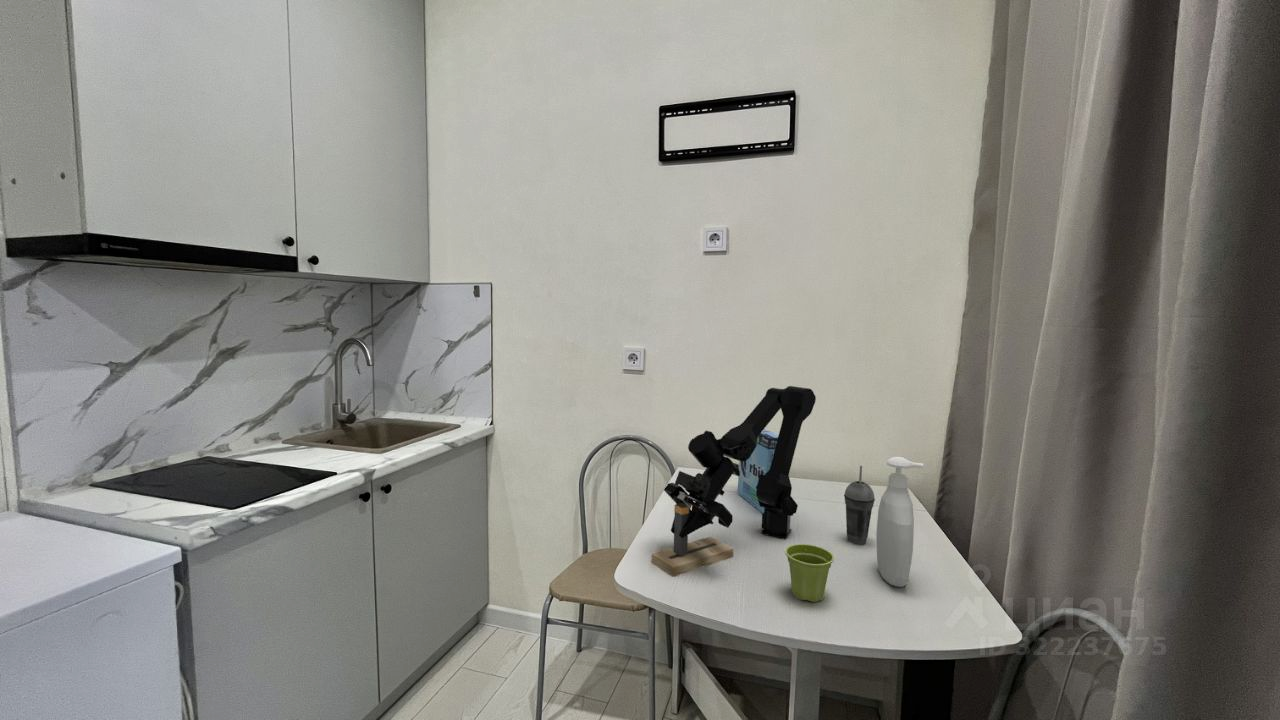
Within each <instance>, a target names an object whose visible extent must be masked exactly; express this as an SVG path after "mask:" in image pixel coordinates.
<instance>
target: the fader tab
mask: <svg viewBox="0 0 1280 720" xmlns="http://www.w3.org/2000/svg"><path fill="white" fill-rule="evenodd" d="M673 510H674V511H673V512H674V517H673V521H674V534H673V547H674V549H673V552H675V553H676V554H678V555H680V556H682V555H685V554H687V545H688V543H689V542H688V541H689V540H688V539H689V538H688V537H689V535H687V536H685V537H683V538H681V537H680V536H679V533H680V531H681V530H682V528H683V526H684V525H685V523H686V521H687V520H688V515H689V506H687V505H685V504H683V503H680V504H676V503H675V504H674V509H673Z"/></svg>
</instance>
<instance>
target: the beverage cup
mask: <svg viewBox="0 0 1280 720" xmlns="http://www.w3.org/2000/svg"><path fill="white" fill-rule="evenodd" d="M862 473H863V465H859V475H858V477H859V479H858V480H855V481H853V482H850V483H849V484H848V486H846V489H845V491H844V494H843V497H844V504H845V518H846V519H845V523H846V524H845V525H846V539H847V542H848V543H850V544H852V545H855V546H856V545H857V546H864V545H867V539H868V538H869V537H868V535H869V531H870V523H871V517H872V511H873V510H872V509H873V507H874V504H875V501H876V498H875V493H874V491H873V488H872V487H871V486H870V485H869V484H868V483H866V482H864V481H862V480H863V479H862V476H863V474H862Z"/></svg>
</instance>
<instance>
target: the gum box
mask: <svg viewBox="0 0 1280 720" xmlns="http://www.w3.org/2000/svg"><path fill="white" fill-rule="evenodd" d="M778 436H779V434H777V433H774V432H772V431H770V430H768V429H766V428H764V430H763V431H762V432H761V433H760V434H759V436H758V438H757V446H756V448H755V450H754V451H753V453H752V455H751V456H750V458H749V459H748V460H746V461H738V465H739V471H740V476H737V478H738V481H737V493H739V495H740V496H741V497H742V498H743V499H744V498H745V499H744V500H746V501H747V502H748V503H749V502H750V503H749V504H751V505H752V506H753V507H754V508H755V507H756V508H755V509H756V510H758V511H759V512H760V513H761V512H762V513H761V514H763V513H764V509H765V508H764V507H760V506H759V502H758V497H757V496H756V491H757V489H756V486H757V484H758V480H759V476H760V474H763V475H765V474H766V473H767V472H768V471H769V469H770V466H771V462H772V458H773V455H774V451H775V447H776V443H777V439H778Z"/></svg>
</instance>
